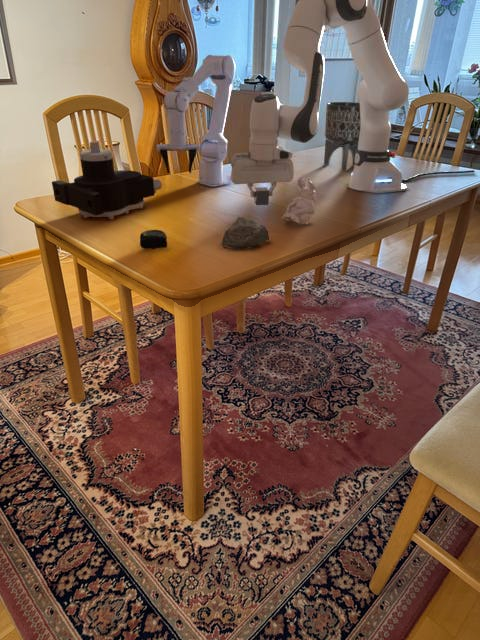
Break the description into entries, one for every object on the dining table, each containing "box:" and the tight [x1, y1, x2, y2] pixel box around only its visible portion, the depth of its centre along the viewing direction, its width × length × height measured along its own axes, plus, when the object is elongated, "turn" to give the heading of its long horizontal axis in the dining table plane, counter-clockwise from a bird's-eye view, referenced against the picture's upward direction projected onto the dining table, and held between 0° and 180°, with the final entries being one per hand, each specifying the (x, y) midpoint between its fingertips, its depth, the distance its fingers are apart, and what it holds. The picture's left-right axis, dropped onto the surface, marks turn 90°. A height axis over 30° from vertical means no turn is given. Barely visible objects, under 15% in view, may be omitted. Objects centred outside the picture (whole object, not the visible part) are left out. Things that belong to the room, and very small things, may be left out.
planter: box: [323, 101, 361, 172], centre depth 204 cm, size 20×20×26 cm
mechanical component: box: [51, 141, 163, 220], centre depth 140 cm, size 22×21×30 cm
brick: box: [253, 186, 270, 206], centre depth 149 cm, size 4×4×5 cm
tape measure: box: [139, 229, 168, 250], centre depth 117 cm, size 7×7×4 cm
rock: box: [221, 216, 270, 250], centre depth 119 cm, size 13×9×6 cm, turn 131°
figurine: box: [281, 177, 316, 225], centre depth 135 cm, size 8×15×13 cm, turn 145°
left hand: (179, 172), depth 161 cm, fingers open, 7 cm apart
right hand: (261, 196), depth 149 cm, fingers closed on brick, 4 cm apart
